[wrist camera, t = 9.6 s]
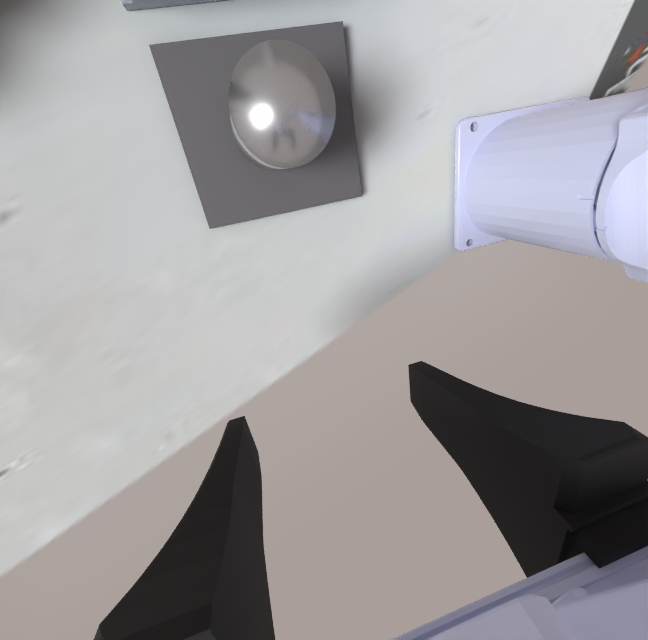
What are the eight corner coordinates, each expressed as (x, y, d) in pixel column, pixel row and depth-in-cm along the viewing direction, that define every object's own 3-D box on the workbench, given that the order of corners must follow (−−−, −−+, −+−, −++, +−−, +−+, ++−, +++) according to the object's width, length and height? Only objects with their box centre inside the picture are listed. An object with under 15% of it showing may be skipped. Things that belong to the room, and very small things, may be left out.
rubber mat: (338, 26, 16) (342, 21, 15) (358, 195, 19) (361, 196, 19) (152, 50, 14) (149, 44, 14) (210, 227, 18) (209, 228, 17)
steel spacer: (303, 76, 15) (330, 36, 11) (313, 165, 17) (340, 161, 13) (221, 82, 15) (215, 42, 10) (240, 174, 17) (242, 173, 12)
